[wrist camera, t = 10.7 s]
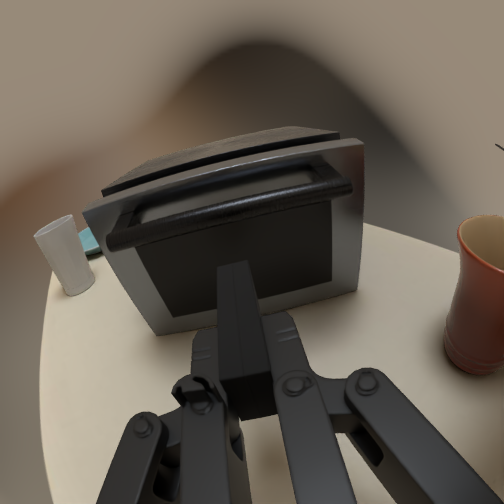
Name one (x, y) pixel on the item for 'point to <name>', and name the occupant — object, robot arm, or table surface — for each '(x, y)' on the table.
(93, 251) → the plate
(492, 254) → the mug
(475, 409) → the table surface
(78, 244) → the cup
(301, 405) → the robot arm
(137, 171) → the box
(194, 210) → the door
